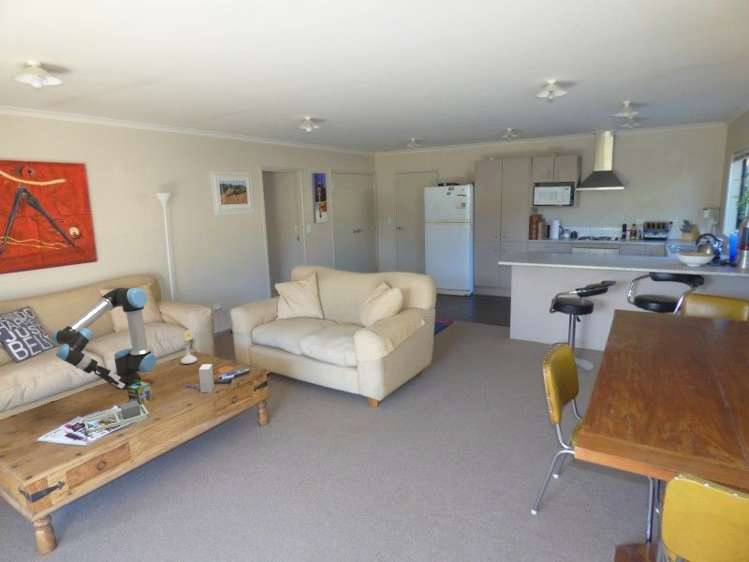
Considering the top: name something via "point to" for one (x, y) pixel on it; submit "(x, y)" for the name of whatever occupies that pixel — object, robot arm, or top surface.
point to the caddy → (143, 416)
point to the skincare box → (206, 378)
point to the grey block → (130, 410)
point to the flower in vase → (188, 357)
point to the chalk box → (140, 392)
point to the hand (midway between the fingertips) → (121, 382)
